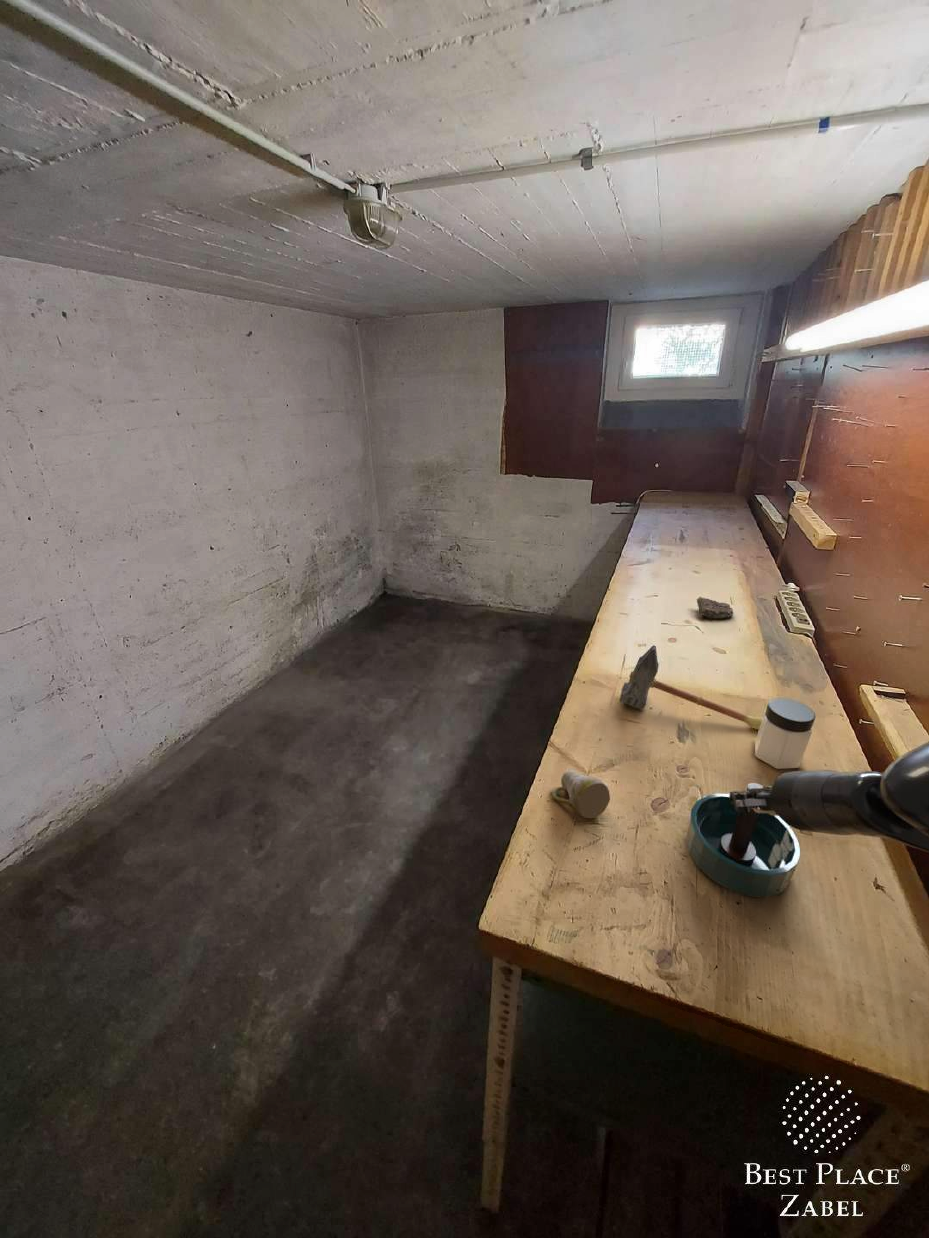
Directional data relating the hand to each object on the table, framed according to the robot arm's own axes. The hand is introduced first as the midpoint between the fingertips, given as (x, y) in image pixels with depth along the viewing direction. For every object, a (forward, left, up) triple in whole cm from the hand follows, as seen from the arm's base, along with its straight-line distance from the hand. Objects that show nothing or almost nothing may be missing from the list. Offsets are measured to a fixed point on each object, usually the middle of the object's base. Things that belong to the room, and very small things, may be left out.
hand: (742, 797), depth 78 cm
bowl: (+1, +2, -11) cm, 11 cm away
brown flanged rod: (+1, +2, -10) cm, 10 cm away
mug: (+16, -20, -11) cm, 28 cm away
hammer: (-24, -28, -11) cm, 39 cm away
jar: (-28, -9, -11) cm, 32 cm away
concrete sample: (-76, -60, -11) cm, 98 cm away
